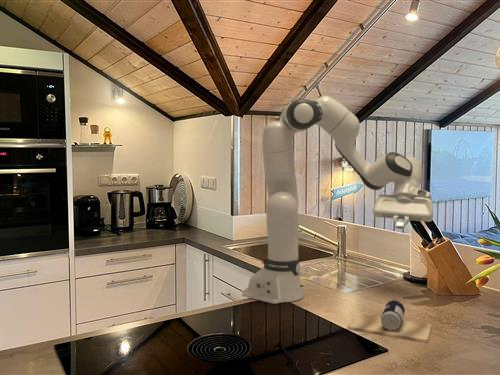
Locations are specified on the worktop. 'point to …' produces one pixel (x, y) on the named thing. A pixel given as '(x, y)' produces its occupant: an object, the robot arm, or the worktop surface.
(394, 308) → the beverage can
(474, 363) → the worktop surface
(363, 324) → the folded beige cloth
